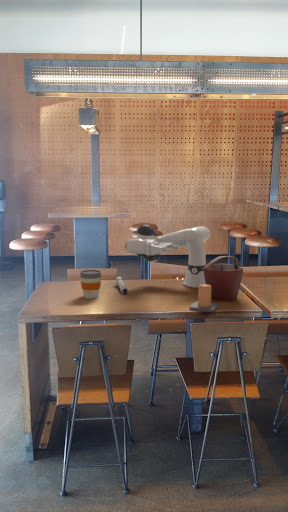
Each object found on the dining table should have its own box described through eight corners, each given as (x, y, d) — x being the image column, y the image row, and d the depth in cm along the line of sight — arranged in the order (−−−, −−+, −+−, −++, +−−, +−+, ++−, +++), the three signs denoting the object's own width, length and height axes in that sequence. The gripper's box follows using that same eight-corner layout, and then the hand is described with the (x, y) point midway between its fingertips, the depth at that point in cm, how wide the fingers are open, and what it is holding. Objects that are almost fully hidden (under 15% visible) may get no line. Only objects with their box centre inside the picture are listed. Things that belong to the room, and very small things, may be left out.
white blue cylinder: (120, 288, 274) (114, 274, 298) (120, 298, 276) (114, 284, 300) (129, 288, 275) (122, 274, 299) (128, 298, 277) (122, 283, 301)
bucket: (232, 292, 282) (233, 252, 278) (250, 301, 261) (252, 258, 257) (196, 294, 274) (197, 254, 270) (212, 304, 254) (214, 260, 250)
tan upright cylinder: (200, 303, 251) (200, 283, 249) (211, 304, 248) (212, 284, 246) (197, 306, 245) (197, 286, 243) (208, 307, 242) (209, 287, 240)
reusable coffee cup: (98, 299, 263) (97, 274, 260) (77, 298, 265) (77, 273, 263) (104, 294, 275) (103, 270, 272) (84, 293, 277) (84, 269, 275)
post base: (196, 303, 255) (196, 289, 254) (218, 306, 250) (219, 292, 249) (189, 309, 243) (190, 295, 242) (213, 312, 238) (213, 297, 237)
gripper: (158, 250, 263) (181, 251, 258) (145, 255, 244) (169, 257, 239) (158, 239, 261) (181, 240, 256) (145, 244, 243) (170, 245, 238)
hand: (175, 248), depth 247 cm, fingers open, 8 cm apart
